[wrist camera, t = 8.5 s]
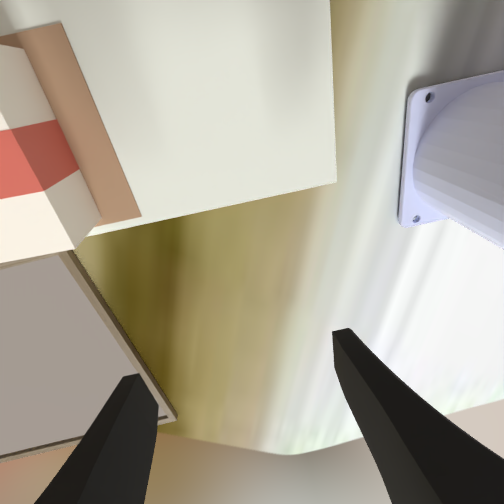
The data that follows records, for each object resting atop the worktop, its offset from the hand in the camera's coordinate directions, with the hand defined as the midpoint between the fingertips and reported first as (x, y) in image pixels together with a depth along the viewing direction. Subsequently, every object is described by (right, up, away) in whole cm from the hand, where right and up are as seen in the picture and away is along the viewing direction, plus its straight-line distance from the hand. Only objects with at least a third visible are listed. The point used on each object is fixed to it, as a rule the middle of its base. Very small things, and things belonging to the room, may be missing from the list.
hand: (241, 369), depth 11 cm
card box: (-11, +9, +4) cm, 15 cm away
